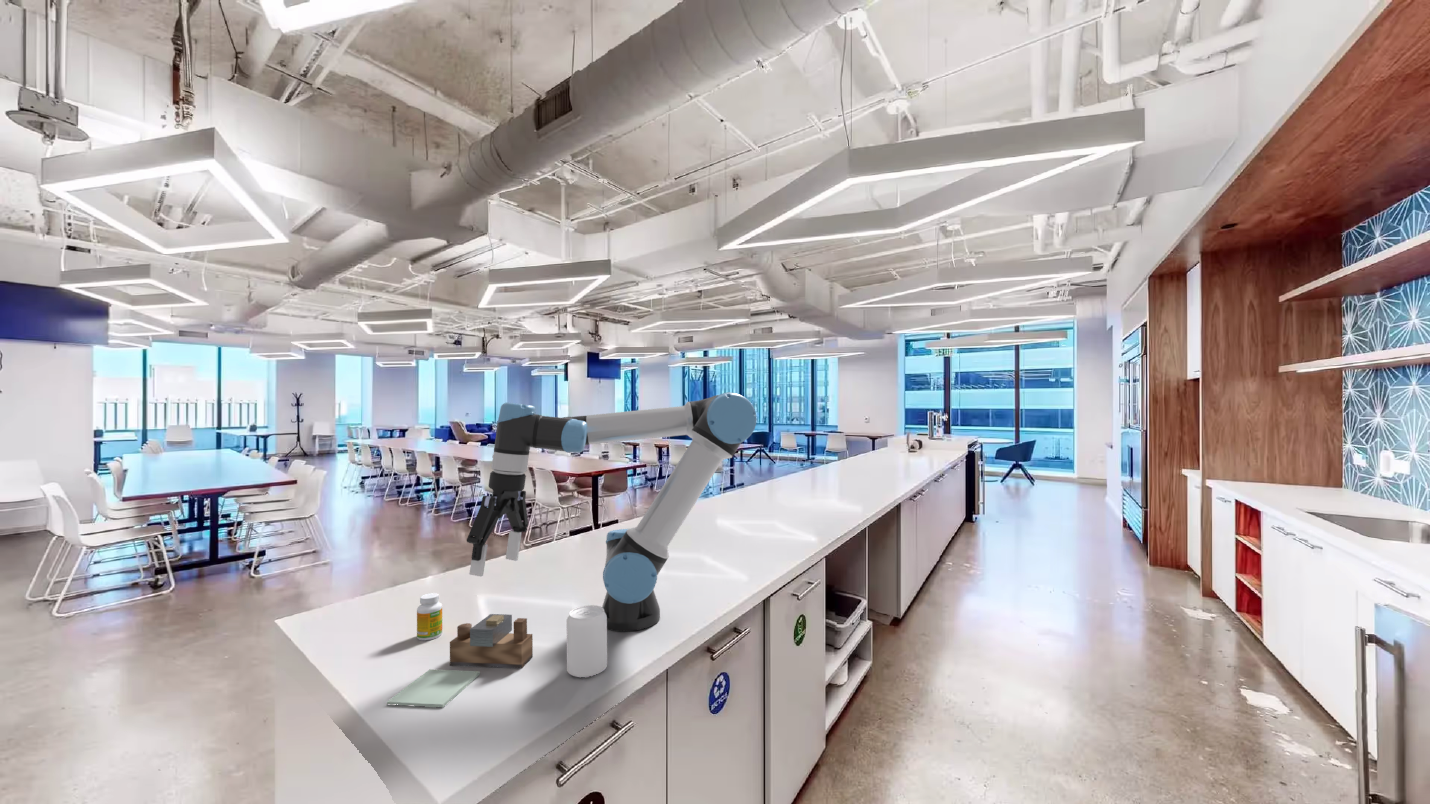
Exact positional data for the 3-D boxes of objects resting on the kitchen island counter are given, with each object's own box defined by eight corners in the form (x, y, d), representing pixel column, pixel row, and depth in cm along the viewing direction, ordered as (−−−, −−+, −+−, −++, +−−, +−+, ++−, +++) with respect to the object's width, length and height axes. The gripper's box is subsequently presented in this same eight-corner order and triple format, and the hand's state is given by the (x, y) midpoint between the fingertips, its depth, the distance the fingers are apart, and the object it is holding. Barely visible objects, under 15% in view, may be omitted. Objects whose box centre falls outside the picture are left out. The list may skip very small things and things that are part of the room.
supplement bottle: (431, 642, 122) (431, 600, 122) (411, 640, 123) (411, 599, 123) (447, 632, 127) (447, 592, 127) (428, 630, 128) (428, 591, 128)
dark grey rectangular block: (511, 630, 115) (511, 611, 115) (492, 646, 107) (492, 625, 107) (490, 629, 116) (490, 610, 116) (470, 646, 108) (469, 625, 108)
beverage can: (586, 684, 102) (586, 622, 102) (558, 673, 106) (557, 614, 106) (615, 666, 109) (614, 608, 109) (587, 657, 113) (587, 601, 113)
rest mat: (479, 674, 106) (479, 671, 106) (443, 707, 94) (443, 704, 94) (429, 672, 107) (429, 669, 107) (386, 705, 95) (386, 701, 95)
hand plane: (532, 657, 113) (532, 615, 113) (521, 668, 108) (521, 625, 108) (463, 654, 115) (463, 613, 115) (449, 665, 110) (449, 623, 110)
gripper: (522, 466, 129) (510, 551, 128) (457, 473, 104) (441, 579, 103) (550, 470, 128) (538, 556, 127) (491, 478, 103) (475, 586, 102)
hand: (494, 567), depth 115 cm, fingers open, 13 cm apart
